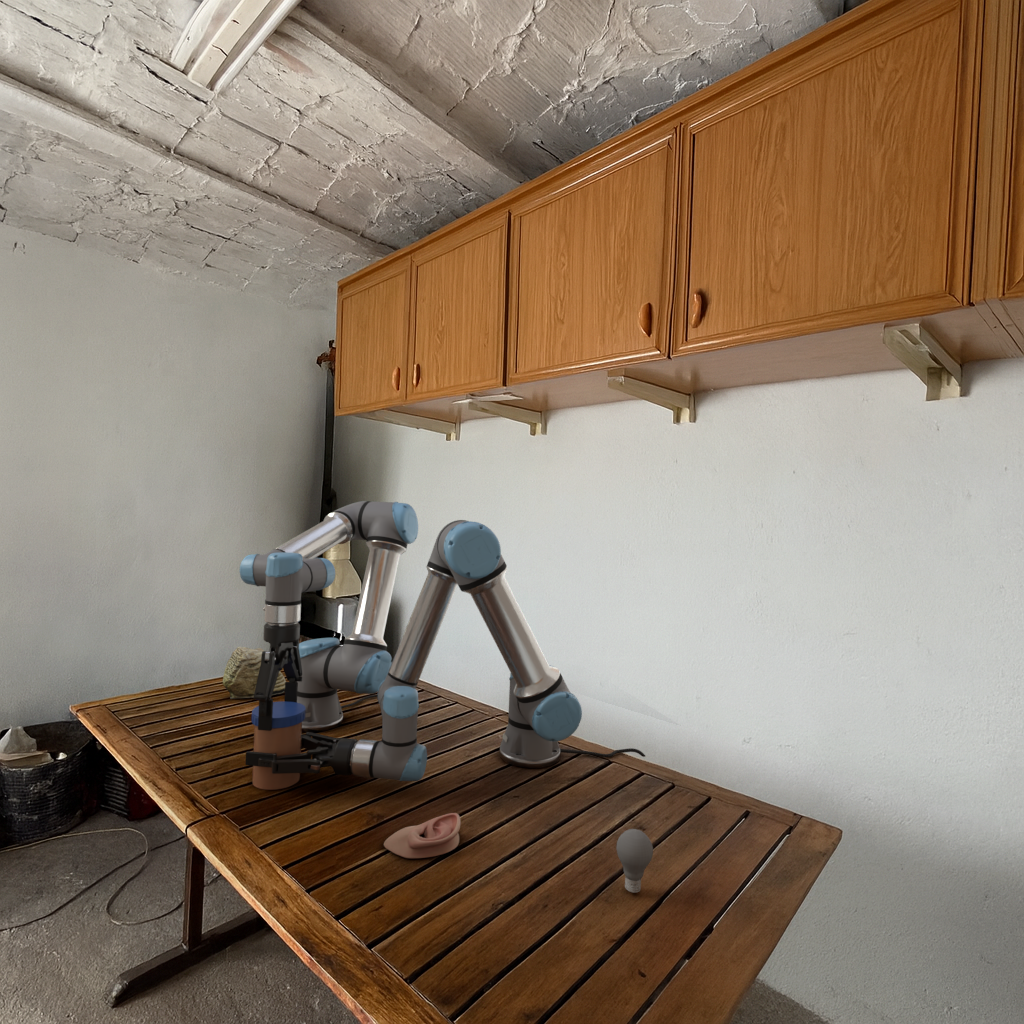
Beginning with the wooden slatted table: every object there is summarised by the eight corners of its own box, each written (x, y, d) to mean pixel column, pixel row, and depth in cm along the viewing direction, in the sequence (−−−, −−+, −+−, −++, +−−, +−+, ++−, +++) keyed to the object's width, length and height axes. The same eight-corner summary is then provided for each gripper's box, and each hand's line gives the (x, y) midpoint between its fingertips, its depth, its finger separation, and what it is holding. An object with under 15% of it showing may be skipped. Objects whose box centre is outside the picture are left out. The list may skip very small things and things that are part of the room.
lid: (294, 729, 135) (294, 719, 135) (242, 727, 135) (242, 716, 135) (312, 712, 146) (312, 702, 146) (264, 709, 146) (264, 700, 146)
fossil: (218, 695, 195) (220, 647, 195) (278, 685, 208) (279, 640, 207) (228, 703, 189) (230, 653, 188) (289, 692, 201) (290, 645, 201)
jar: (289, 791, 136) (292, 720, 135) (244, 788, 136) (246, 717, 136) (306, 771, 146) (309, 705, 145) (264, 768, 146) (266, 702, 146)
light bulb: (610, 879, 108) (613, 822, 108) (644, 879, 109) (647, 822, 109) (619, 902, 102) (622, 840, 102) (655, 901, 103) (658, 840, 103)
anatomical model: (377, 831, 113) (401, 802, 124) (376, 853, 113) (400, 822, 124) (448, 842, 110) (466, 811, 122) (447, 865, 111) (465, 832, 122)
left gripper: (289, 612, 153) (285, 701, 153) (238, 632, 128) (233, 738, 129) (319, 614, 152) (315, 703, 152) (274, 634, 128) (269, 741, 128)
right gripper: (334, 798, 128) (230, 787, 130) (371, 754, 150) (282, 745, 152) (336, 761, 127) (231, 751, 130) (373, 722, 150) (283, 715, 152)
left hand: (278, 719), depth 140 cm, fingers open, 12 cm apart
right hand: (259, 748), depth 141 cm, fingers closed on jar, 10 cm apart
